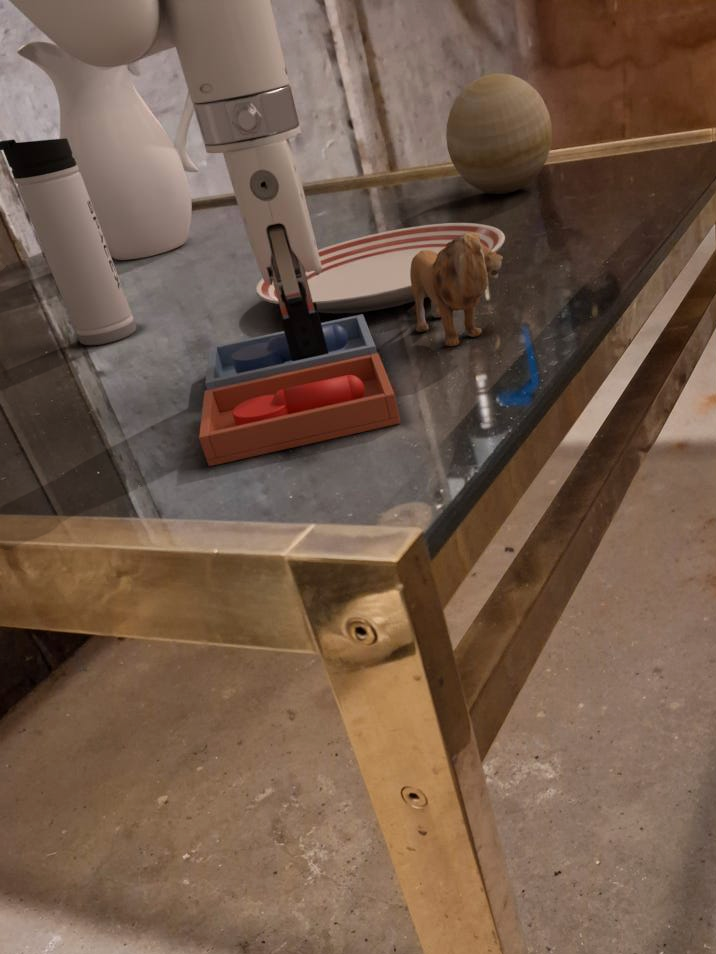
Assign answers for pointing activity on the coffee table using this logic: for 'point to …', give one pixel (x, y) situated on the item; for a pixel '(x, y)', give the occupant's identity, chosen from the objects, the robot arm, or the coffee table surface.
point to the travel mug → (71, 238)
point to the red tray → (298, 428)
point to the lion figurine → (453, 282)
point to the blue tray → (225, 374)
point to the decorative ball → (499, 133)
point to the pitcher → (121, 153)
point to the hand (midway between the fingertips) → (310, 354)
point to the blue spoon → (282, 350)
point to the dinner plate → (378, 267)
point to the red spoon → (299, 399)
